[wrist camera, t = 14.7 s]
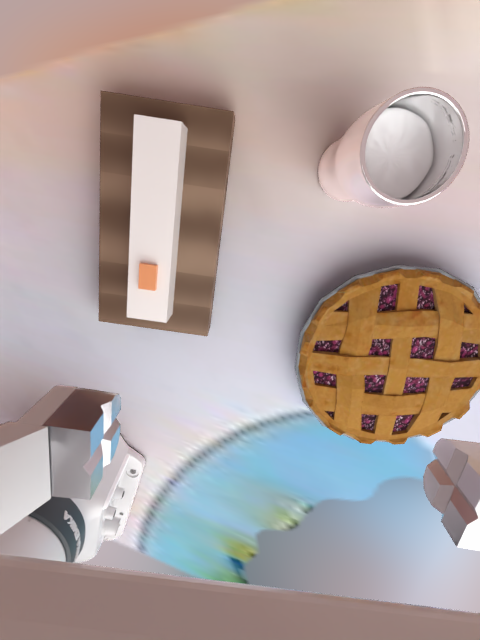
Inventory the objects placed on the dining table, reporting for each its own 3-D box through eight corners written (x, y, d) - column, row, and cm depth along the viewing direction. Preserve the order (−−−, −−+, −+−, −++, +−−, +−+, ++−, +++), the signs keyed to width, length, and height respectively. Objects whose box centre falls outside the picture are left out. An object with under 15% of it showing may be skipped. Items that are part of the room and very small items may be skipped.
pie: (295, 431, 46) (300, 458, 41) (287, 268, 39) (292, 278, 34) (464, 421, 45) (490, 447, 40) (487, 251, 38) (521, 258, 33)
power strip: (177, 307, 40) (164, 324, 34) (142, 302, 40) (124, 319, 34) (191, 133, 34) (180, 119, 28) (151, 127, 34) (131, 112, 28)
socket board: (209, 326, 41) (207, 336, 38) (109, 312, 41) (98, 321, 38) (235, 118, 34) (234, 111, 31) (113, 99, 34) (100, 90, 31)
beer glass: (383, 200, 36) (470, 198, 22) (316, 211, 37) (359, 217, 22) (381, 125, 34) (476, 71, 20) (310, 138, 34) (353, 94, 20)
